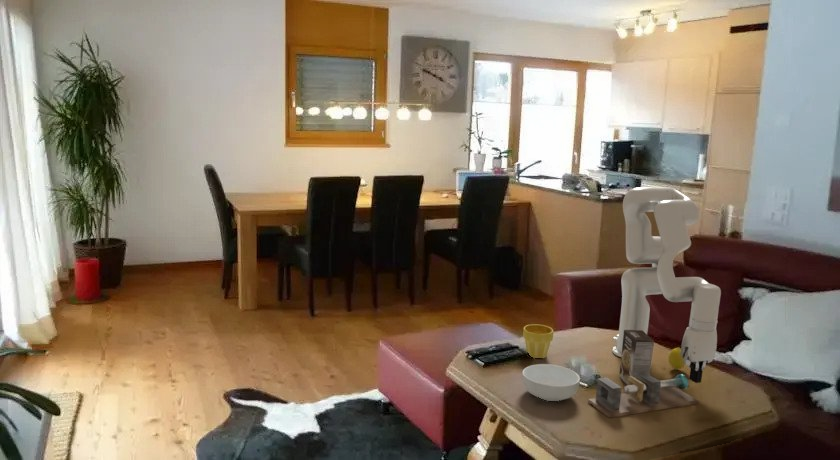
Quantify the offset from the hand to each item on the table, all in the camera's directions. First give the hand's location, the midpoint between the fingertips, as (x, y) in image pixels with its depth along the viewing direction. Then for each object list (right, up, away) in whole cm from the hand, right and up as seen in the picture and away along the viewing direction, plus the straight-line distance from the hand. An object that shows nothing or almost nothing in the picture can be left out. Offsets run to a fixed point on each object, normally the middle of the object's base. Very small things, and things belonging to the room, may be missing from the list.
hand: (695, 380), depth 198 cm
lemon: (+2, -1, +20) cm, 20 cm away
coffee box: (-16, -3, +8) cm, 19 cm away
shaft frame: (-18, -5, -6) cm, 20 cm away
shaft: (-14, -2, -5) cm, 15 cm away
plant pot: (-44, +2, +27) cm, 52 cm away
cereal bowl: (-46, -4, -4) cm, 46 cm away
